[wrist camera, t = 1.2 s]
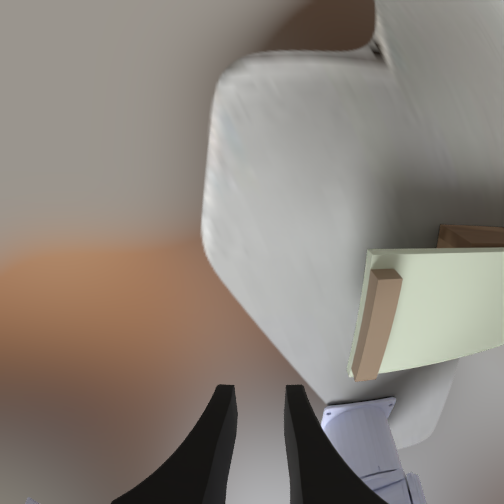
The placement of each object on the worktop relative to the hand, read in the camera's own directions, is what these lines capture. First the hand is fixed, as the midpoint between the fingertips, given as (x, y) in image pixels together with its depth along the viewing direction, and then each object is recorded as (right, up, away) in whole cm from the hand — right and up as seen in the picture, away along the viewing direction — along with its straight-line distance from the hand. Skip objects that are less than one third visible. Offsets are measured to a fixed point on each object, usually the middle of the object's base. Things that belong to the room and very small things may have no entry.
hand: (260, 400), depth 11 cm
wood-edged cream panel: (+14, +2, +5) cm, 15 cm away
